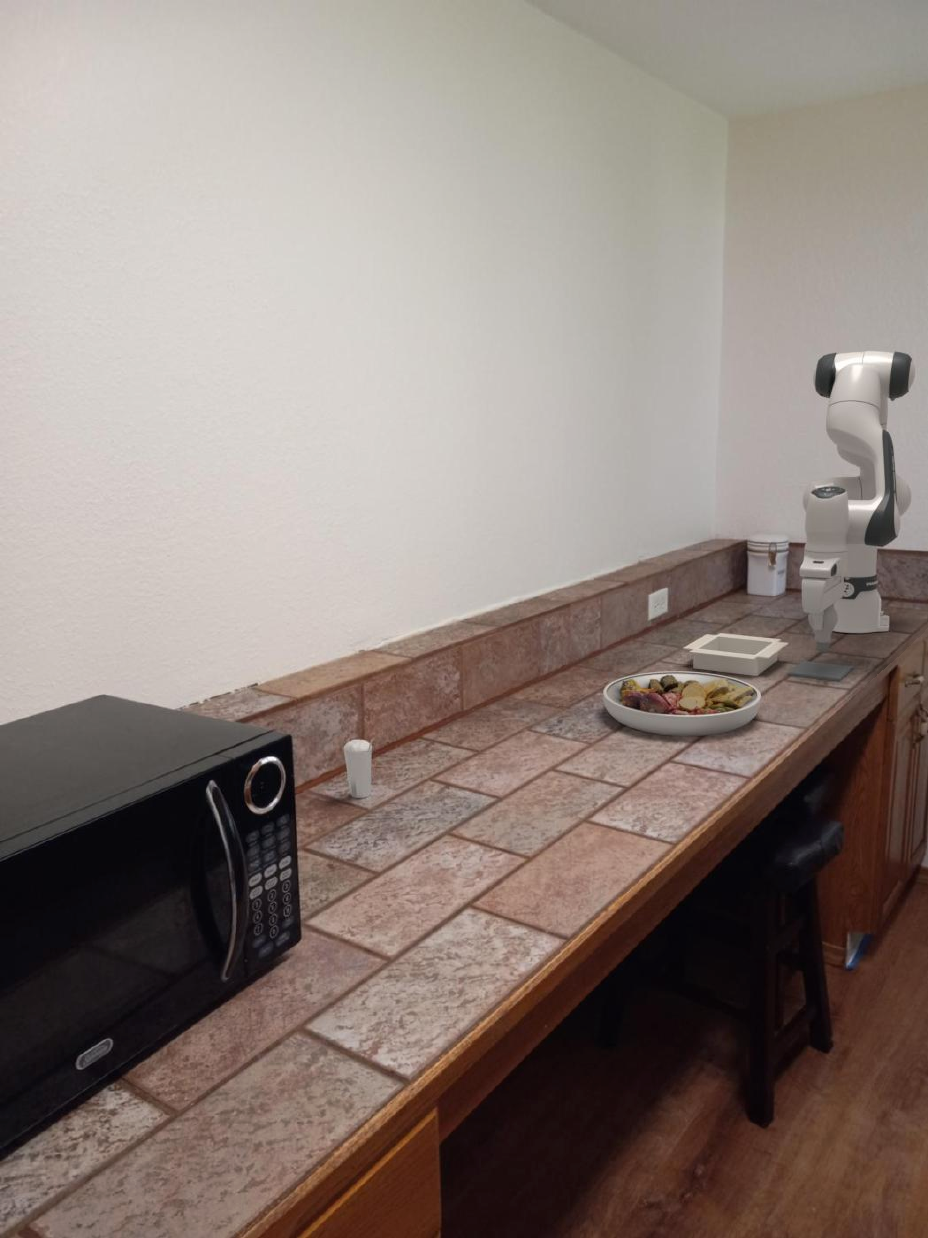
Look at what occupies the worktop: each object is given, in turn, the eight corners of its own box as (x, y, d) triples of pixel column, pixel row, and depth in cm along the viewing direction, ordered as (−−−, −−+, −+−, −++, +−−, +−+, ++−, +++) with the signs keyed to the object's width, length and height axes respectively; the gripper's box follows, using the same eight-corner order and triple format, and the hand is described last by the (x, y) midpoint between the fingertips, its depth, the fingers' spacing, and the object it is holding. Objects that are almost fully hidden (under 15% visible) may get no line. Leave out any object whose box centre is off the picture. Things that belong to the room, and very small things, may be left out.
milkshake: (367, 803, 157) (363, 743, 155) (340, 797, 160) (336, 738, 158) (384, 793, 161) (380, 734, 159) (358, 787, 164) (354, 729, 161)
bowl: (643, 686, 214) (643, 651, 213) (781, 706, 197) (783, 668, 196) (575, 726, 191) (575, 686, 189) (726, 753, 174) (727, 710, 172)
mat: (802, 663, 226) (802, 660, 226) (852, 669, 220) (852, 666, 220) (787, 675, 218) (788, 672, 217) (839, 681, 211) (840, 678, 211)
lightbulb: (833, 649, 220) (834, 600, 218) (840, 655, 214) (841, 605, 212) (805, 650, 221) (805, 601, 219) (811, 656, 215) (811, 607, 213)
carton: (709, 650, 241) (710, 632, 240) (791, 659, 230) (791, 640, 229) (678, 669, 225) (678, 650, 224) (764, 680, 214) (764, 660, 213)
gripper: (823, 555, 224) (820, 615, 227) (797, 569, 207) (794, 634, 210) (852, 556, 220) (849, 617, 223) (828, 571, 204) (825, 637, 207)
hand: (822, 625), depth 217 cm, fingers closed on lightbulb, 6 cm apart
